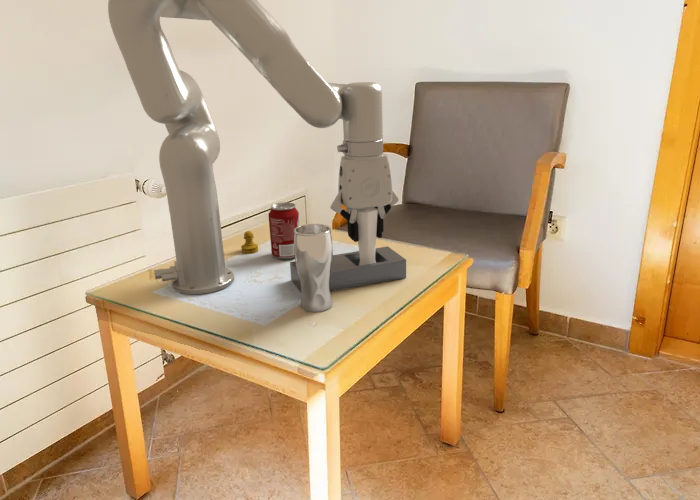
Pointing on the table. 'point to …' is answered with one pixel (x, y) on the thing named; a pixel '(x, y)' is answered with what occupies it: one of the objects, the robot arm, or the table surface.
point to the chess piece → (249, 244)
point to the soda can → (283, 229)
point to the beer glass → (314, 265)
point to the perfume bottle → (367, 234)
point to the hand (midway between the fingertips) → (365, 237)
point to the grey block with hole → (360, 269)
